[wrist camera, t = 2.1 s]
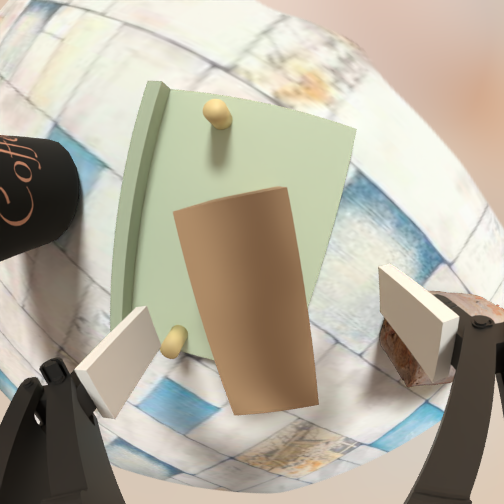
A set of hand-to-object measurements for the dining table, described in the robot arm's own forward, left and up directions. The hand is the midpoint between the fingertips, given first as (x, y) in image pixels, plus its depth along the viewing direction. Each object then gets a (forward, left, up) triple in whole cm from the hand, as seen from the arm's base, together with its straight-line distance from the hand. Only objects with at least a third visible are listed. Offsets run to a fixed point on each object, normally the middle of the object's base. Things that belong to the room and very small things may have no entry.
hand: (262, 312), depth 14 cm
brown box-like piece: (0, 0, -7) cm, 7 cm away
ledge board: (-4, +2, -9) cm, 10 cm away
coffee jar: (-23, +2, -9) cm, 25 cm away
